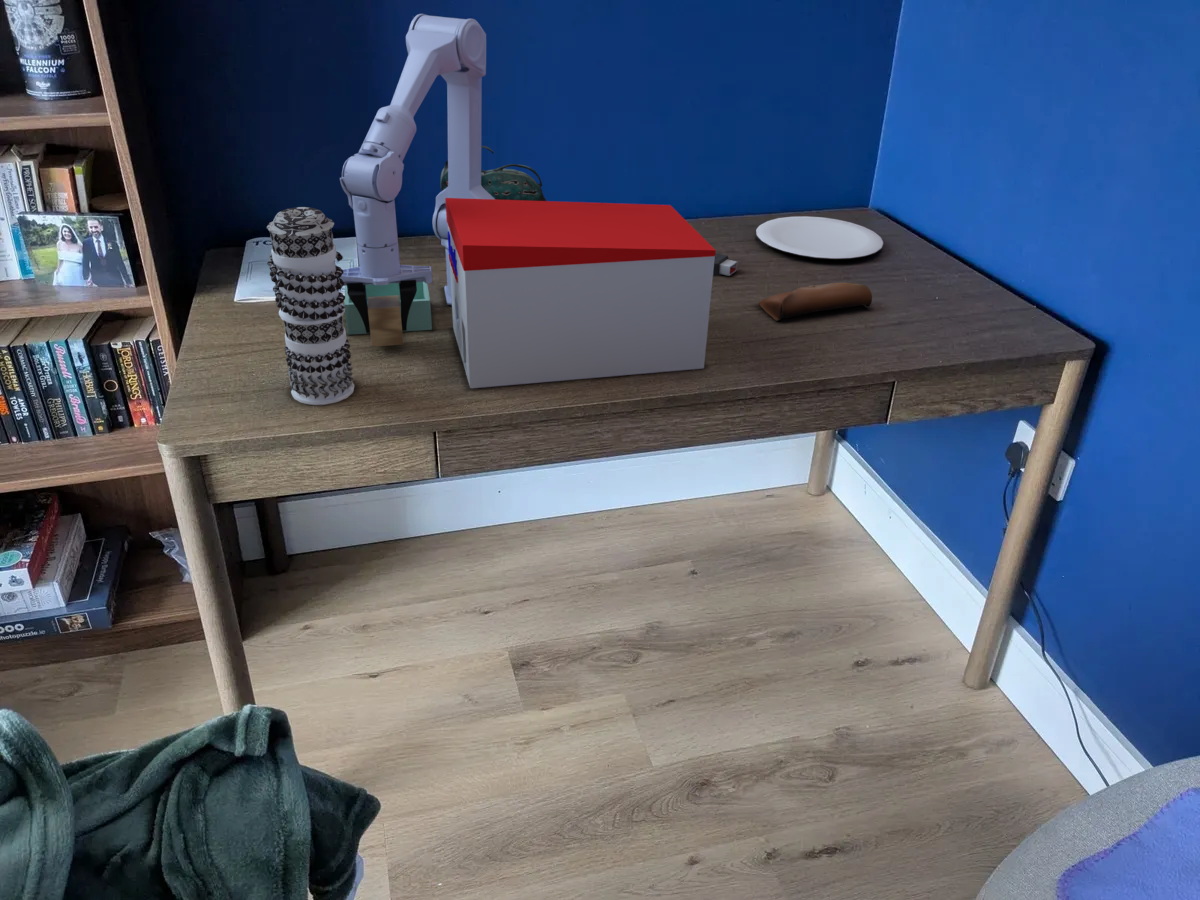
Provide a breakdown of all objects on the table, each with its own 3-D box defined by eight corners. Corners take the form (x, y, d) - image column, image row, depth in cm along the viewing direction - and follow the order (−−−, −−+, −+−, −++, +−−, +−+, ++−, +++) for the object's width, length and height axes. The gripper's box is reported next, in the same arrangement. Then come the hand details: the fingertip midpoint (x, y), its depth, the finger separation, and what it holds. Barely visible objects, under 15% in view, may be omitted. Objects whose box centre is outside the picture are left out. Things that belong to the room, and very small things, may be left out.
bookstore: (450, 328, 150) (443, 197, 140) (662, 313, 158) (671, 188, 147) (467, 389, 133) (460, 245, 123) (704, 368, 141) (717, 231, 130)
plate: (880, 230, 199) (882, 222, 198) (883, 271, 178) (885, 263, 177) (760, 218, 203) (761, 210, 202) (749, 257, 182) (750, 249, 182)
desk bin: (428, 303, 159) (426, 274, 157) (432, 329, 150) (429, 300, 147) (348, 307, 157) (345, 278, 154) (347, 334, 148) (344, 304, 145)
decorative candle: (302, 372, 136) (276, 199, 123) (366, 377, 136) (346, 204, 123) (277, 403, 128) (247, 222, 115) (344, 408, 128) (321, 226, 115)
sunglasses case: (842, 288, 169) (859, 264, 163) (859, 320, 166) (877, 297, 160) (754, 302, 162) (768, 277, 157) (770, 335, 159) (786, 311, 154)
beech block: (402, 331, 146) (399, 295, 143) (403, 344, 142) (400, 307, 139) (371, 333, 145) (367, 296, 142) (371, 346, 141) (367, 308, 138)
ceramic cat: (445, 261, 176) (439, 151, 166) (442, 249, 182) (435, 141, 171) (551, 255, 180) (551, 147, 170) (544, 243, 186) (544, 138, 175)
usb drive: (681, 256, 182) (682, 242, 180) (738, 270, 176) (740, 256, 175) (668, 264, 178) (669, 250, 176) (726, 278, 173) (728, 264, 171)
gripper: (323, 253, 131) (335, 343, 138) (430, 248, 134) (436, 337, 141) (325, 236, 137) (336, 323, 144) (428, 232, 139) (433, 318, 147)
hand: (386, 329), depth 143 cm, fingers closed on beech block, 4 cm apart
